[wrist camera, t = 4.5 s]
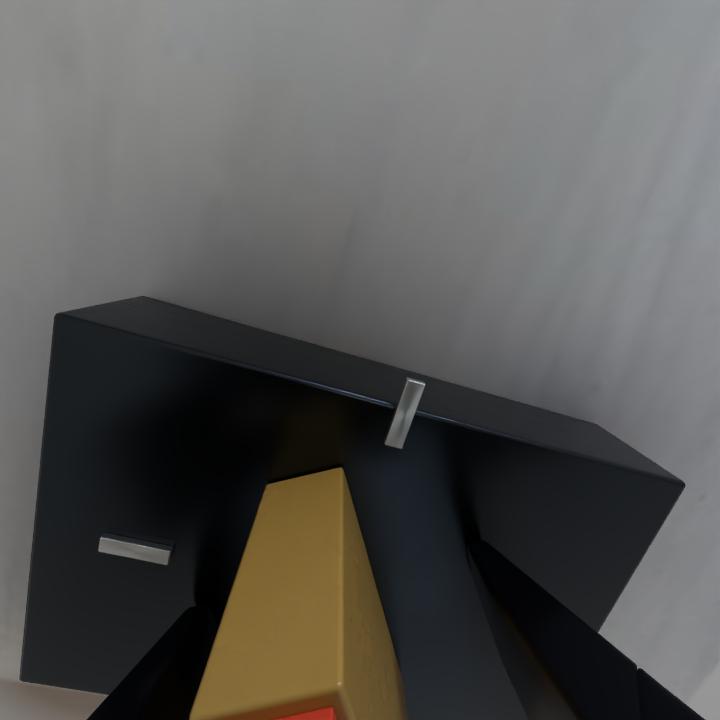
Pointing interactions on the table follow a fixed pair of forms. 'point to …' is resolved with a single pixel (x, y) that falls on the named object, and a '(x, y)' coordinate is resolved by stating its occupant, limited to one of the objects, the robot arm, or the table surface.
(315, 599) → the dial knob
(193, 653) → the robot arm
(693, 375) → the table surface
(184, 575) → the block
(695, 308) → the table surface
